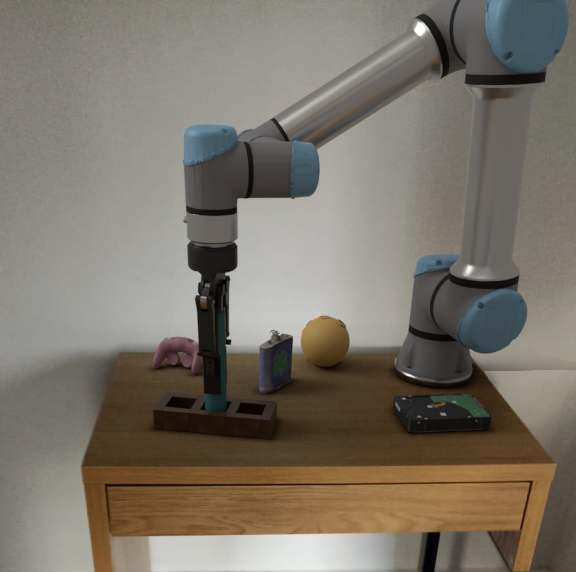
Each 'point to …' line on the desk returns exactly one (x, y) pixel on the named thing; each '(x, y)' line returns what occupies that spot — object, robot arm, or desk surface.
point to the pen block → (215, 416)
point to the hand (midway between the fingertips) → (215, 388)
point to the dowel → (220, 401)
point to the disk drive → (441, 413)
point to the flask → (275, 362)
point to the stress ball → (325, 341)
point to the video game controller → (171, 349)
